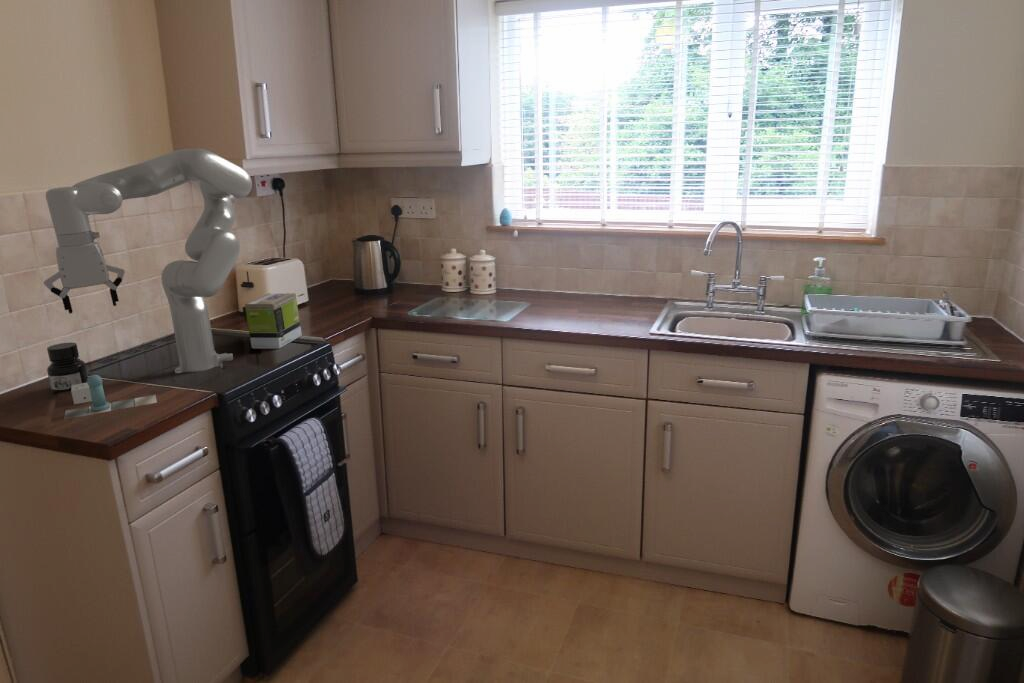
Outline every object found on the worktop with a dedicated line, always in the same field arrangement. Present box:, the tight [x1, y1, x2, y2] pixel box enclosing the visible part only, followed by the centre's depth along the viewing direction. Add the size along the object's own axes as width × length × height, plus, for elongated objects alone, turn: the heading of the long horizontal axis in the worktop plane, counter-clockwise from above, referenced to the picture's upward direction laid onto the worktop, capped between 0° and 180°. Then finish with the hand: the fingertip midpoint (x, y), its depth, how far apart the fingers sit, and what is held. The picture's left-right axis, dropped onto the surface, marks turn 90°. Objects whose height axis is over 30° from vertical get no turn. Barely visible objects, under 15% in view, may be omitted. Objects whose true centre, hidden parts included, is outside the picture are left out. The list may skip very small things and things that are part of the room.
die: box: [70, 383, 92, 405], centre depth 183 cm, size 5×5×5 cm
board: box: [63, 394, 158, 420], centre depth 177 cm, size 20×7×1 cm, turn 118°
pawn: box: [87, 374, 110, 412], centre depth 175 cm, size 4×4×9 cm
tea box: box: [244, 292, 303, 350], centre depth 231 cm, size 15×10×15 cm, turn 168°
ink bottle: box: [46, 342, 89, 394], centre depth 195 cm, size 10×9×12 cm
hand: (93, 308), depth 179 cm, fingers open, 9 cm apart
